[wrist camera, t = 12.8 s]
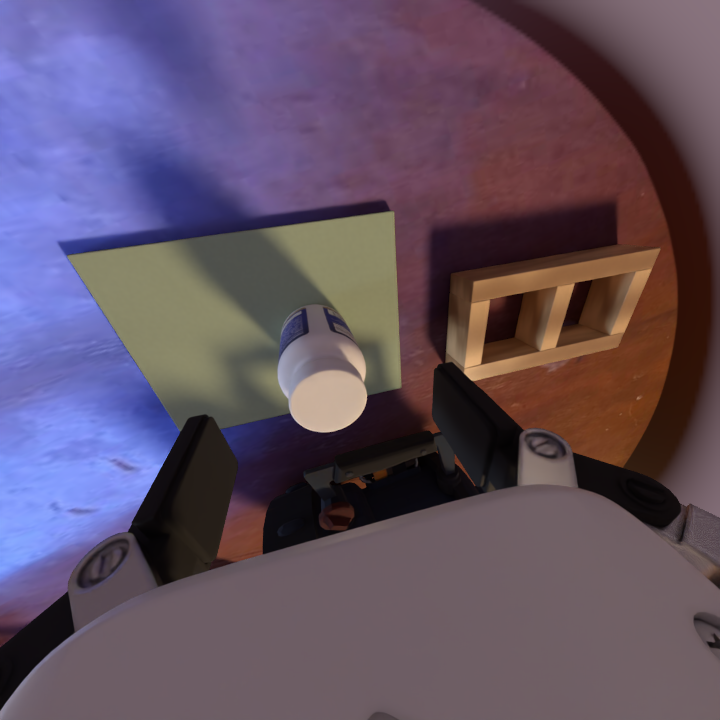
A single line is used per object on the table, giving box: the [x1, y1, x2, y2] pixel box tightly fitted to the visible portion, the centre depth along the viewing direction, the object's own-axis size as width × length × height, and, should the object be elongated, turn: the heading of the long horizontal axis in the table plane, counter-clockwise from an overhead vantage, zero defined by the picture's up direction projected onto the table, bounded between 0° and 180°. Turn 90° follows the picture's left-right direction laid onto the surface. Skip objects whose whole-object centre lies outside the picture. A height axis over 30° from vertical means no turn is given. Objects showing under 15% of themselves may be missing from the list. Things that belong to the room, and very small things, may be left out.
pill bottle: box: [277, 304, 367, 432], centre depth 17 cm, size 5×5×9 cm
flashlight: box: [263, 431, 484, 554], centre depth 24 cm, size 15×21×20 cm
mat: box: [67, 211, 401, 432], centre depth 20 cm, size 15×20×1 cm
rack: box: [445, 244, 661, 381], centre depth 23 cm, size 9×16×3 cm, turn 97°
